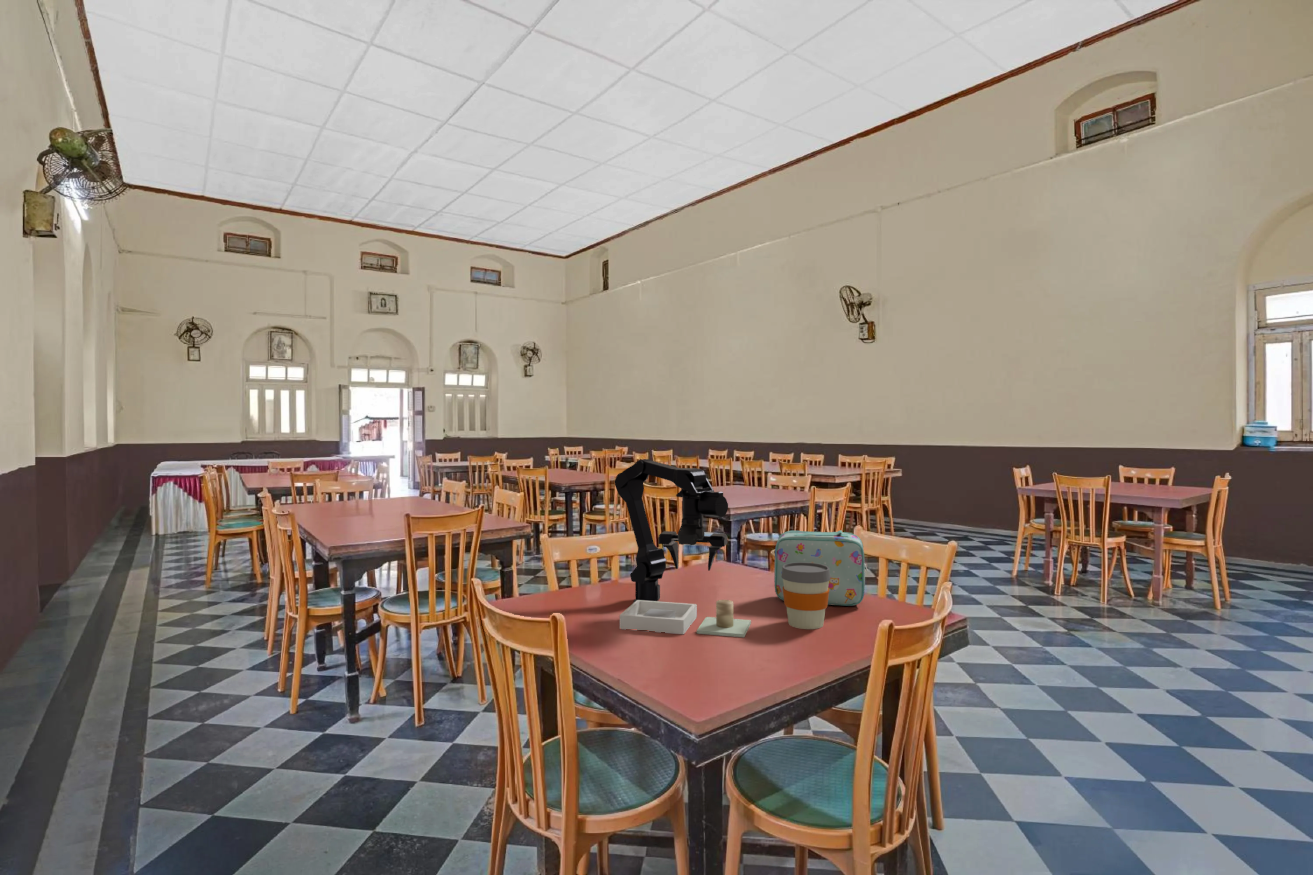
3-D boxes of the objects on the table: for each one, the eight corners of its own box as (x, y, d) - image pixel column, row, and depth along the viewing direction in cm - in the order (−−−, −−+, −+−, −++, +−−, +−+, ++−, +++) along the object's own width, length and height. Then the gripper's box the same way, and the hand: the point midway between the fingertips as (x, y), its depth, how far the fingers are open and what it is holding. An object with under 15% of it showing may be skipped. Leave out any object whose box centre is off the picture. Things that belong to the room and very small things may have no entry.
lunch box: (867, 600, 197) (867, 528, 196) (869, 609, 187) (869, 534, 186) (776, 594, 204) (776, 525, 203) (773, 603, 194) (773, 530, 194)
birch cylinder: (714, 626, 170) (714, 603, 169) (718, 621, 174) (718, 599, 174) (731, 628, 168) (731, 604, 168) (734, 623, 172) (734, 600, 172)
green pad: (696, 633, 167) (696, 630, 167) (706, 619, 178) (706, 616, 178) (744, 637, 164) (744, 634, 164) (750, 622, 175) (750, 619, 175)
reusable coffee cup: (831, 632, 167) (831, 573, 166) (781, 629, 169) (781, 571, 169) (829, 618, 179) (829, 562, 179) (781, 615, 182) (781, 561, 181)
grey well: (619, 628, 171) (619, 615, 171) (637, 612, 185) (637, 599, 185) (683, 634, 166) (683, 620, 166) (696, 617, 181) (696, 604, 181)
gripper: (652, 516, 180) (652, 574, 180) (720, 519, 175) (720, 578, 175) (663, 511, 190) (663, 565, 191) (727, 513, 185) (728, 568, 186)
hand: (693, 569), depth 185 cm, fingers open, 9 cm apart
